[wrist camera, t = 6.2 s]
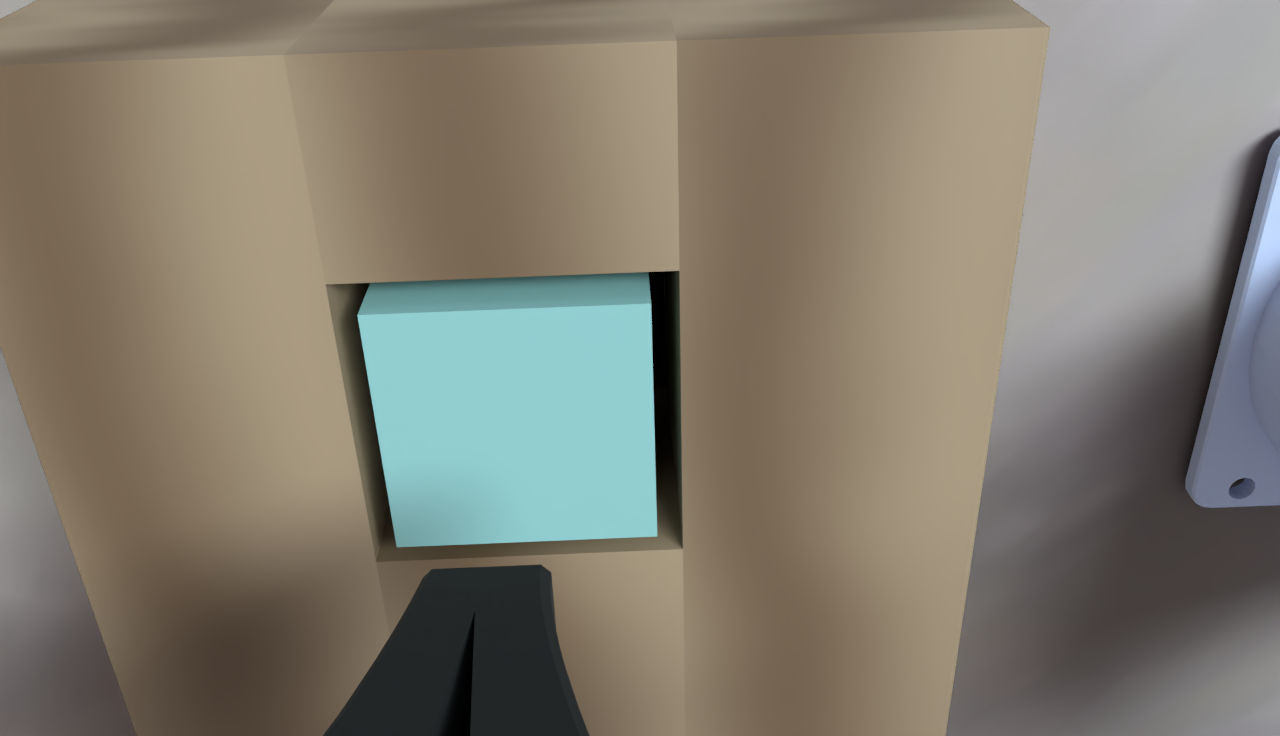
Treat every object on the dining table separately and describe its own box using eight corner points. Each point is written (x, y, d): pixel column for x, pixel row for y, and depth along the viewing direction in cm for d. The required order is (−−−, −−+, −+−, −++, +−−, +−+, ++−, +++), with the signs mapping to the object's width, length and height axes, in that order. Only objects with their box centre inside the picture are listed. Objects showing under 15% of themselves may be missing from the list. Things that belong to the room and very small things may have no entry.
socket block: (944, -48, 18) (1050, 27, 14) (854, 851, 29) (899, 1049, 25) (68, -17, 18) (-98, 68, 14) (307, 876, 29) (256, 1079, 25)
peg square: (640, 175, 20) (651, 303, 16) (645, 373, 22) (657, 536, 18) (409, 183, 20) (357, 315, 16) (436, 382, 22) (396, 547, 18)
